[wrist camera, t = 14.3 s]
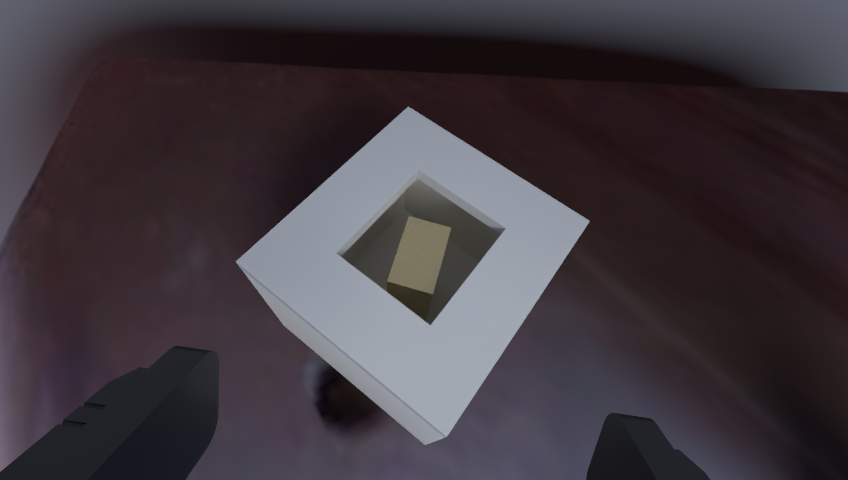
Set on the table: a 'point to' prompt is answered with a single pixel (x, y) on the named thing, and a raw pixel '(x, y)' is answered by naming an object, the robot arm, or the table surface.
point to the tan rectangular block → (418, 264)
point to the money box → (374, 255)
